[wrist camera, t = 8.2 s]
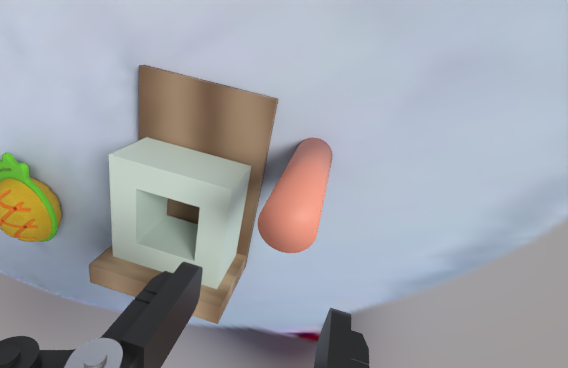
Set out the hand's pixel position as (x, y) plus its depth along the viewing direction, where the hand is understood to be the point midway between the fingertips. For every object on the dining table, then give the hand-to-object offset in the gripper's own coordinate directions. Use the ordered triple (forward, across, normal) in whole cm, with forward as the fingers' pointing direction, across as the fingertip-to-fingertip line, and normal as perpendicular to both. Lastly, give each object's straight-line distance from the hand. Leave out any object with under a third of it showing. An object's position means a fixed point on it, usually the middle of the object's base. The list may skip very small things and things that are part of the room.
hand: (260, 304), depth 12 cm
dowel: (+17, 0, 0) cm, 17 cm away
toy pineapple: (+18, +28, +12) cm, 35 cm away
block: (+16, +10, +7) cm, 20 cm away
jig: (+17, +10, +5) cm, 21 cm away
